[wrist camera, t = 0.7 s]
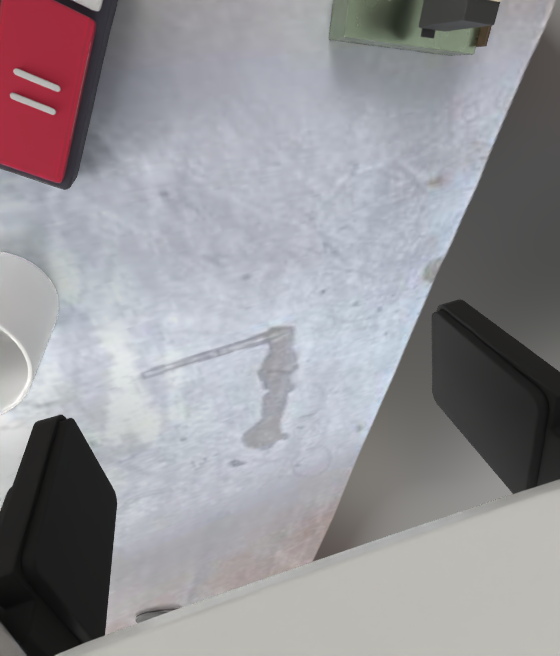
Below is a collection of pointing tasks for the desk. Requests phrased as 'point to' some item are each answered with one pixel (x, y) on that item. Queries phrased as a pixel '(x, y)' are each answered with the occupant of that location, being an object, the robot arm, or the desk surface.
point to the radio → (395, 27)
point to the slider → (457, 14)
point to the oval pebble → (149, 615)
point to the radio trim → (480, 42)
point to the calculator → (49, 83)
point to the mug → (23, 325)
